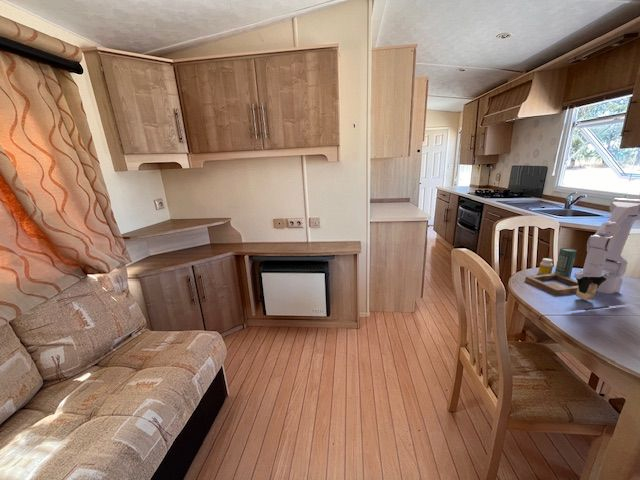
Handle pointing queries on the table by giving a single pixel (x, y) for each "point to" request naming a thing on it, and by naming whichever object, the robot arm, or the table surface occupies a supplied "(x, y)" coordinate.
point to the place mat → (597, 308)
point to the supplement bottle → (545, 266)
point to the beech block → (589, 294)
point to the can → (565, 261)
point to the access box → (553, 283)
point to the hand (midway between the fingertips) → (586, 291)
